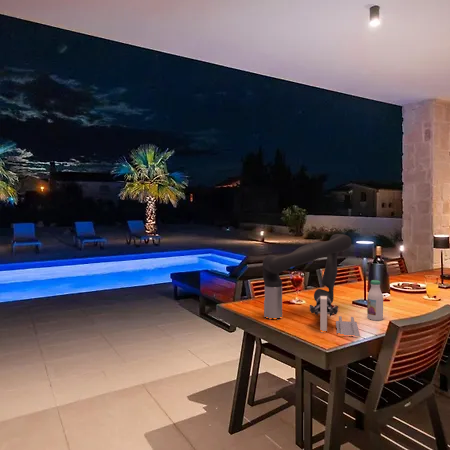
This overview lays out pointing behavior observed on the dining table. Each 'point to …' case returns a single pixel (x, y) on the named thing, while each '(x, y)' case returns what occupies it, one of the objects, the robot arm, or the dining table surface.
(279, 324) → the dining table surface
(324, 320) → the grey rectangular block
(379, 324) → the dining table surface
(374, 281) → the milk bottle
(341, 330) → the door track
